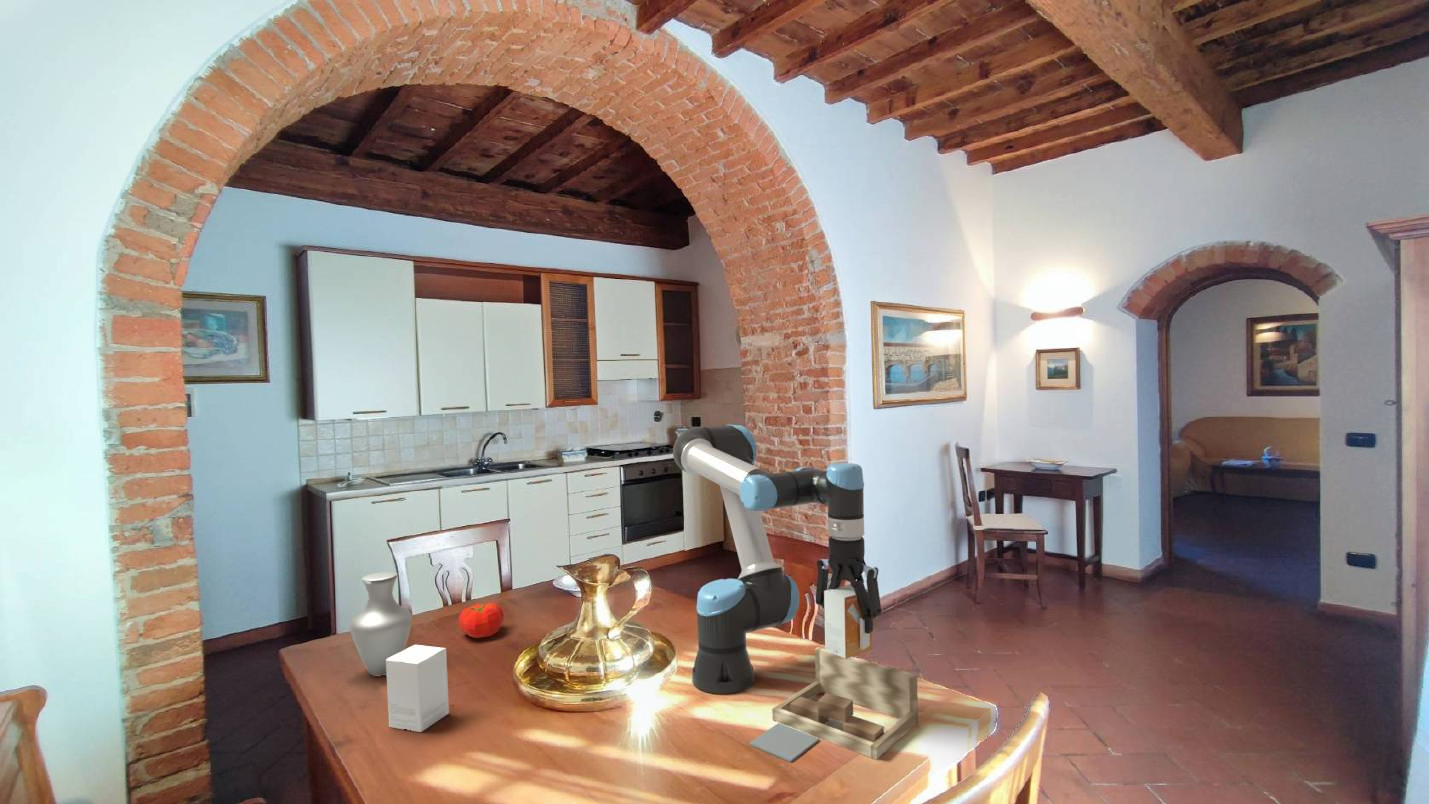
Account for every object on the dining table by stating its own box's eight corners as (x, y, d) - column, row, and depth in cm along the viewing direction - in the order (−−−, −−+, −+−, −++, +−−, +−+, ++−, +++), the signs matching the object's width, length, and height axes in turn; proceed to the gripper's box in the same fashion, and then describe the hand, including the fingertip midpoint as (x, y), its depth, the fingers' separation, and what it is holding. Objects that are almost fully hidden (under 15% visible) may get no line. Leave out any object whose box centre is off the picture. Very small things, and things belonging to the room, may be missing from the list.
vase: (339, 679, 170) (334, 581, 169) (386, 657, 183) (382, 566, 182) (381, 687, 164) (376, 586, 163) (426, 664, 177) (422, 570, 177)
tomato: (472, 626, 205) (471, 597, 205) (511, 627, 203) (510, 598, 203) (448, 643, 191) (447, 613, 191) (490, 645, 190) (488, 614, 189)
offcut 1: (790, 719, 143) (790, 703, 143) (800, 712, 146) (800, 696, 146) (818, 729, 139) (818, 713, 139) (828, 722, 142) (828, 705, 142)
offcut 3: (842, 740, 134) (842, 723, 134) (852, 732, 138) (852, 715, 137) (875, 752, 130) (874, 734, 130) (884, 743, 133) (883, 726, 133)
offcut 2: (818, 715, 138) (817, 700, 138) (826, 707, 141) (826, 693, 141) (845, 722, 135) (845, 708, 135) (853, 714, 138) (852, 699, 138)
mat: (749, 745, 133) (749, 743, 133) (778, 724, 141) (778, 723, 141) (790, 762, 127) (790, 760, 127) (819, 740, 134) (819, 738, 134)
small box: (845, 660, 138) (844, 597, 138) (824, 650, 144) (822, 590, 143) (873, 650, 143) (871, 589, 143) (851, 641, 148) (849, 583, 148)
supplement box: (450, 713, 150) (448, 647, 150) (421, 733, 141) (418, 663, 141) (418, 708, 153) (415, 643, 152) (387, 727, 144) (384, 658, 144)
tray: (772, 719, 143) (771, 673, 143) (818, 689, 157) (817, 646, 156) (876, 759, 127) (875, 707, 127) (918, 721, 141) (917, 674, 140)
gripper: (796, 533, 146) (799, 637, 147) (881, 546, 133) (883, 660, 134) (815, 527, 152) (817, 627, 153) (898, 539, 139) (900, 648, 139)
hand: (848, 642), depth 143 cm, fingers closed on small box, 7 cm apart
